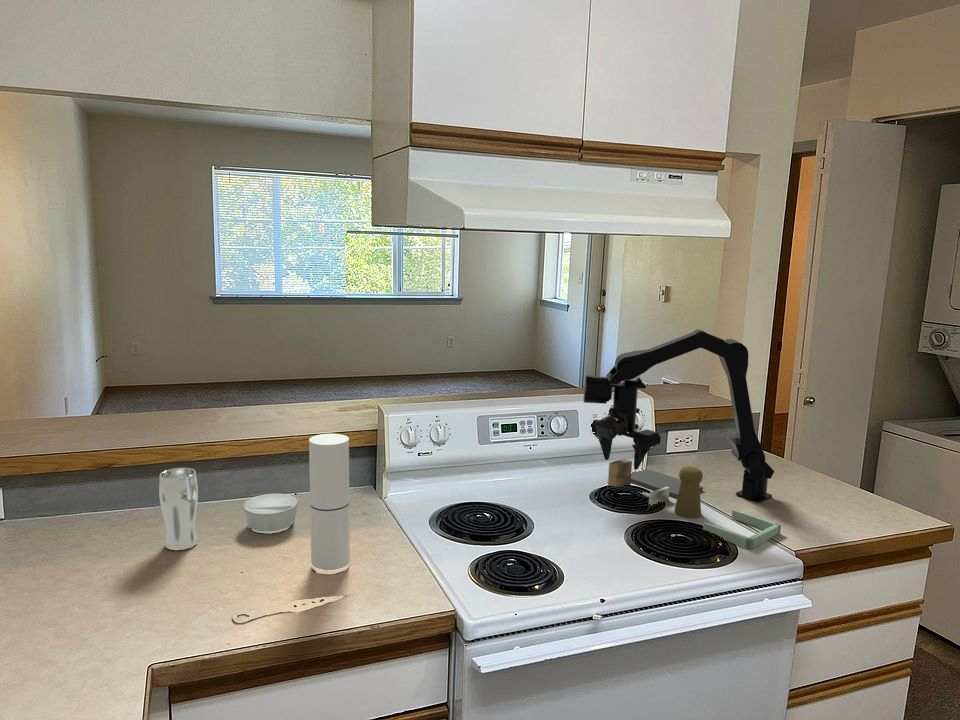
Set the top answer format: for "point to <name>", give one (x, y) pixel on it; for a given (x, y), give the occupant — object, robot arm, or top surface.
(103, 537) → the top surface
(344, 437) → the cylindrical container
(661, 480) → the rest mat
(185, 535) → the beer glass
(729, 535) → the corral
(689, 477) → the olive pawn
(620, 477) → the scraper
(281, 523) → the ramekin
